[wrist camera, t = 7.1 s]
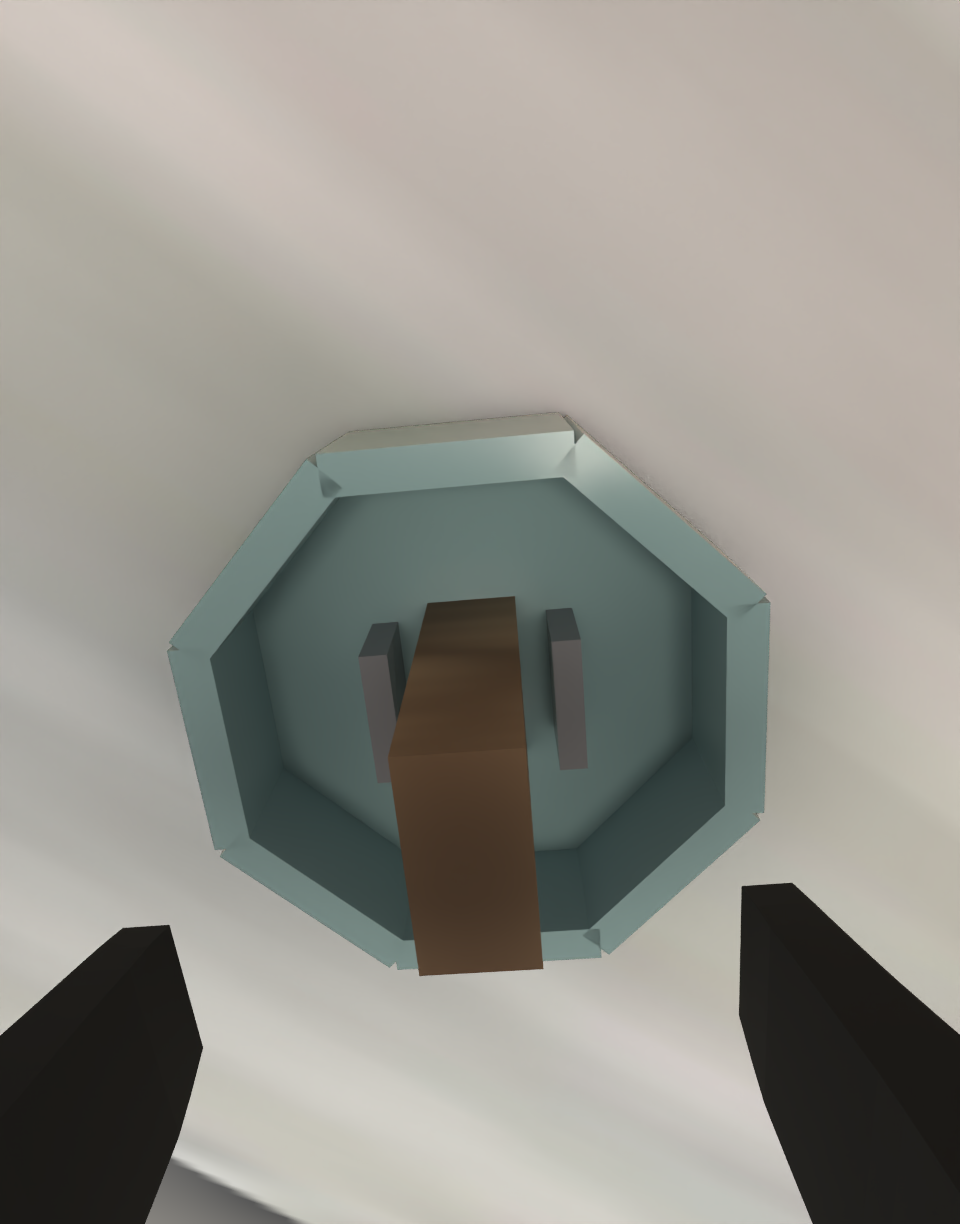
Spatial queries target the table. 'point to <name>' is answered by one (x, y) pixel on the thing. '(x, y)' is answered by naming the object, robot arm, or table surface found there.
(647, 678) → the bowl
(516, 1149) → the table surface
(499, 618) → the wooden block
